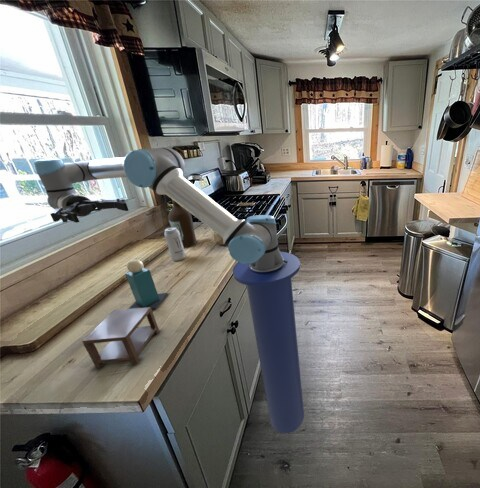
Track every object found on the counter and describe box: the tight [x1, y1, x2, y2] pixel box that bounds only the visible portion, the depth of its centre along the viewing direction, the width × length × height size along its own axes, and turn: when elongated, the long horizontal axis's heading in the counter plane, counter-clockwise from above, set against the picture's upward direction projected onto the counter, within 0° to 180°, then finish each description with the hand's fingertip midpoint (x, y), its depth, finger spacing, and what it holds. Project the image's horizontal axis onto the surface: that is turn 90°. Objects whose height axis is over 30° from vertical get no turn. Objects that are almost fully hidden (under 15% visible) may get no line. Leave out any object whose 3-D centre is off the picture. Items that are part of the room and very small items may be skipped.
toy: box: [124, 259, 159, 307], centre depth 88 cm, size 5×5×16 cm
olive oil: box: [167, 199, 197, 248], centre depth 135 cm, size 11×11×25 cm
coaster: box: [128, 292, 169, 311], centre depth 91 cm, size 9×9×1 cm
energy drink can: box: [163, 226, 186, 262], centre depth 121 cm, size 6×6×15 cm
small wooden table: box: [82, 307, 160, 369], centre depth 70 cm, size 10×12×9 cm
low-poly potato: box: [212, 231, 226, 246], centre depth 139 cm, size 15×11×12 cm
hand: (102, 212), depth 83 cm, fingers open, 13 cm apart
